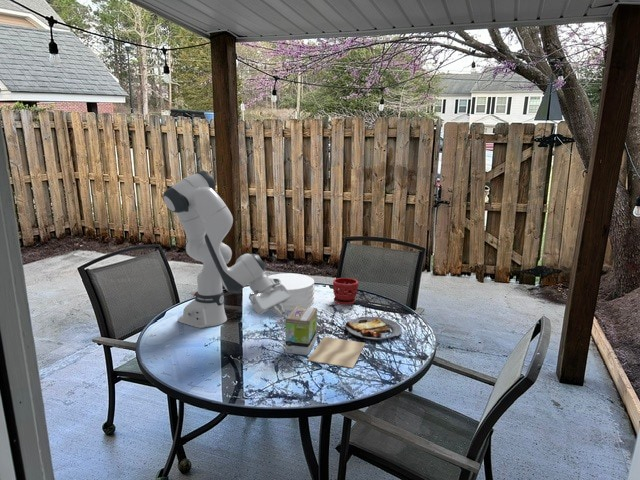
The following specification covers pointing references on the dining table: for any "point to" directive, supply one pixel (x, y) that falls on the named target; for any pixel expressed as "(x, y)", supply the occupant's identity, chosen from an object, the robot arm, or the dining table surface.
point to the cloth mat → (337, 352)
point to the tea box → (301, 330)
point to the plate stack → (297, 290)
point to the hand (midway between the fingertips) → (282, 314)
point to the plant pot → (345, 290)
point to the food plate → (373, 327)
